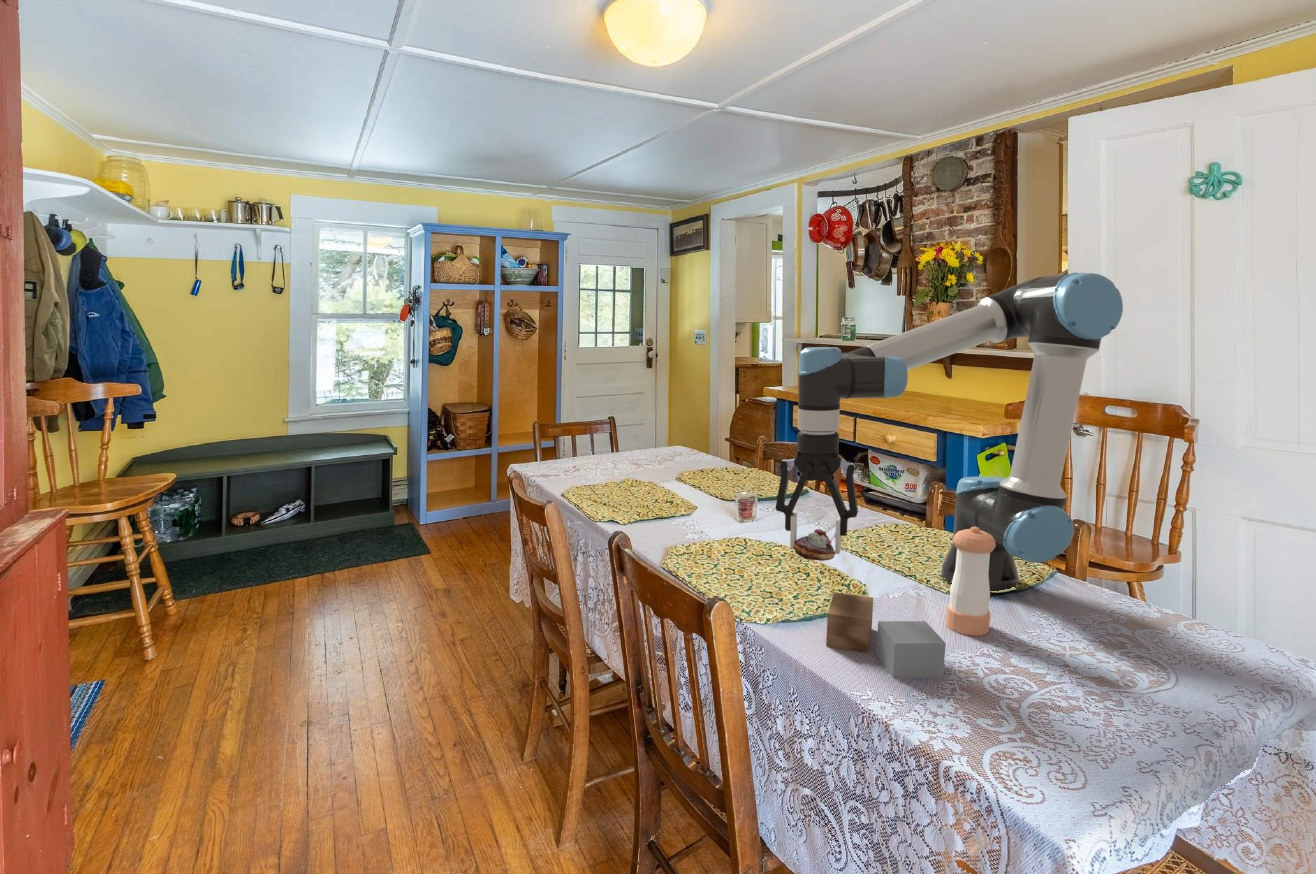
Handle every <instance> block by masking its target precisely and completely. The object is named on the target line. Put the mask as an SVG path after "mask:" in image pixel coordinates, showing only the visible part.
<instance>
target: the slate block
mask: <svg viewBox="0 0 1316 874" xmlns="http://www.w3.org/2000/svg"><path fill="white" fill-rule="evenodd" d="M946 646H947V644H946V642H945V641H944V640H943V639H942V637H941V636H940V635H939V634H938V633H937V632H936V631H935V629H933V627H931V626H930V624H929V623H928V622H927V621H926V620H914V621H913V620H906V621H905V620H899V621H898V620H896V621H894V620H891V621H887V620H882V621H881V620H879V621H878V622H877V635H876V652H875V653H876V656H877V657H878V658H879V660H880V661H881V663H882V664H883V665H884V667H885V668H886V670H887V671H888V673H889V674H890V676H891V677H892V679H909V678H910V679H929V678H930V679H931V678H932V679H933V678H934V679H943V678H944V671H945V670H944V668H945V660H946V659H945V657H946Z"/></svg>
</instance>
